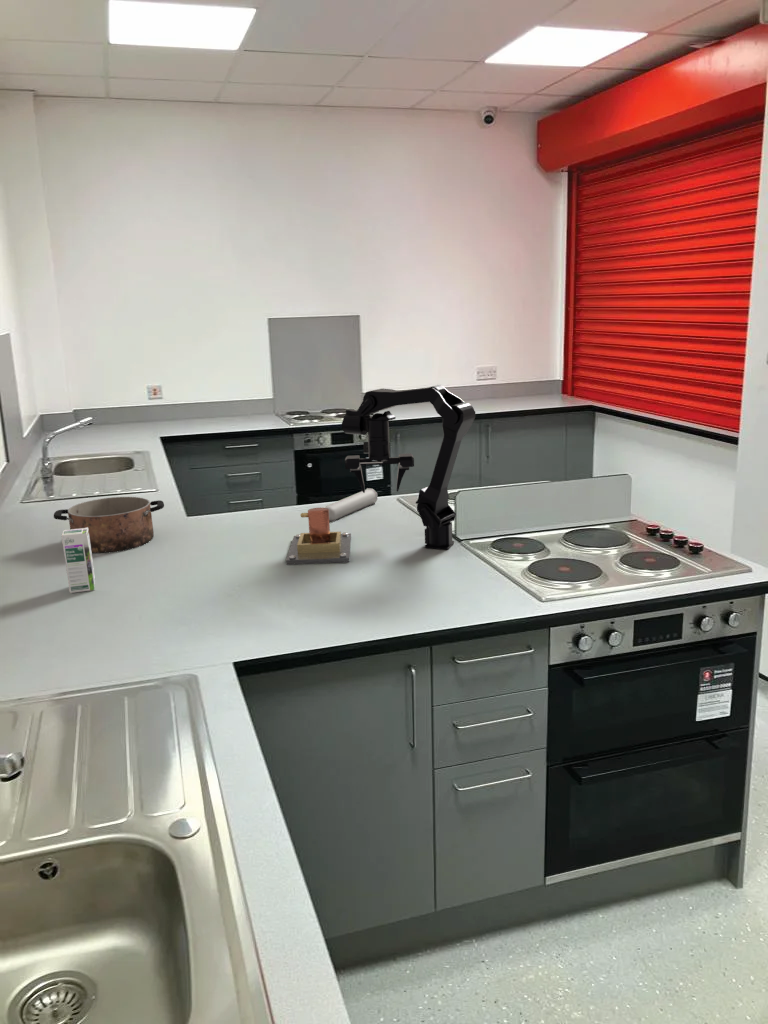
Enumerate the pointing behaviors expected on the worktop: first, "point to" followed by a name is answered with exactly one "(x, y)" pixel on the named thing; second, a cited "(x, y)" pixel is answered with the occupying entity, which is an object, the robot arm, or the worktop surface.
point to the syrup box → (78, 560)
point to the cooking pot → (113, 522)
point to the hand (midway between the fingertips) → (380, 491)
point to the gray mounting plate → (319, 549)
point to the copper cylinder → (318, 525)
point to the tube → (351, 504)
